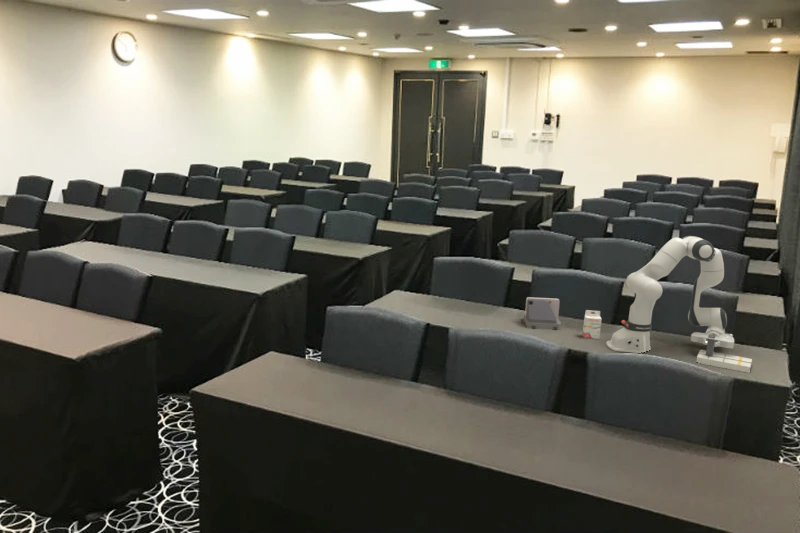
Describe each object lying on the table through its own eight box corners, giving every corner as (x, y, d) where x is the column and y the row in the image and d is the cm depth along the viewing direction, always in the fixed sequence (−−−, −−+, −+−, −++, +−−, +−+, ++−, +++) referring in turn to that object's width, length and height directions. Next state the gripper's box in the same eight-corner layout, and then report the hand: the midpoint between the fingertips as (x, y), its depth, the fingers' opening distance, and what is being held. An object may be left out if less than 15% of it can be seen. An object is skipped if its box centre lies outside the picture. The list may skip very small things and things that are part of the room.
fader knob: (704, 358, 346) (708, 336, 343) (705, 356, 350) (709, 334, 347) (711, 360, 344) (715, 337, 342) (712, 357, 348) (716, 335, 346)
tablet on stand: (560, 321, 405) (562, 296, 402) (560, 331, 386) (563, 306, 382) (523, 317, 409) (525, 293, 406) (522, 328, 390) (524, 302, 386)
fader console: (696, 362, 344) (697, 356, 343) (699, 354, 356) (700, 349, 355) (749, 373, 333) (750, 367, 332) (751, 364, 344) (752, 358, 343)
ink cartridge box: (583, 338, 376) (586, 312, 372) (582, 335, 380) (584, 309, 377) (599, 339, 375) (602, 313, 371) (598, 336, 380) (600, 310, 376)
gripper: (693, 327, 361) (689, 334, 349) (736, 335, 351) (733, 342, 339) (691, 339, 362) (687, 346, 350) (734, 346, 352) (731, 354, 341)
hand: (710, 344), depth 345 cm, fingers closed on fader knob, 3 cm apart
